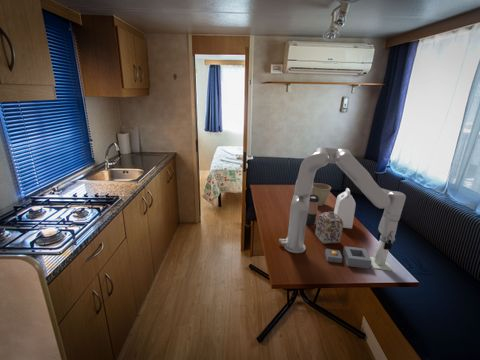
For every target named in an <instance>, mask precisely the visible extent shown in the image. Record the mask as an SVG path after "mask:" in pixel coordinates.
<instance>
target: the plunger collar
mask: <svg viewBox="0 0 480 360" xmlns="http://www.w3.org/2000/svg"><path fill="white" fill-rule="evenodd" d="M331 251H336V252H337V256H336V255H331ZM324 254H325V258H326V261H327V262H331V263H337V264H339V263H340V264H342V263H343V258H344V257H343V254H342V253H341V250H338V249H331V248H325V252H324Z"/></svg>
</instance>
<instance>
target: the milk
mask: <svg viewBox="0 0 480 360" xmlns="http://www.w3.org/2000/svg"><path fill="white" fill-rule="evenodd" d="M356 206H357V205H356V201H355V199H354V198H353V195H352V194H351V190H350V188H348V187H346V188H345V191H343V192H341V193H339V194H338V195H337V197H336V201H335V206H334V210H333V212H334V213H335V214H337V215H339V216H340V217H341V219H342V221H343V228H345V229H353V225H354V217H355V213H356Z"/></svg>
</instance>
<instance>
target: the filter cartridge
mask: <svg viewBox="0 0 480 360" xmlns="http://www.w3.org/2000/svg"><path fill="white" fill-rule="evenodd" d="M388 237H390V236H388ZM378 240H379V241H378V244H377V245H378V246H377V248H376V251H375V252H376V254H375V256H374V257H375V261H374V262H375V263H376V264H377V265H380V266H384V265H385V262H386V261H387V259H388V258H387V257H388V255H389V251H390V250H386V249H384V245H385V242H386V238H384V237H383V236H382V235H380V239H378ZM389 240H391V239H389V238H388V241H389Z"/></svg>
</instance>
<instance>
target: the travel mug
mask: <svg viewBox="0 0 480 360" xmlns="http://www.w3.org/2000/svg"><path fill="white" fill-rule="evenodd" d="M318 202H319V197H318V196H316V195H313V194H311V195H310V200H309V209H308V215H307V222H306V226H315V224H316V221H317V215H318V208H319V206H318Z"/></svg>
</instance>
